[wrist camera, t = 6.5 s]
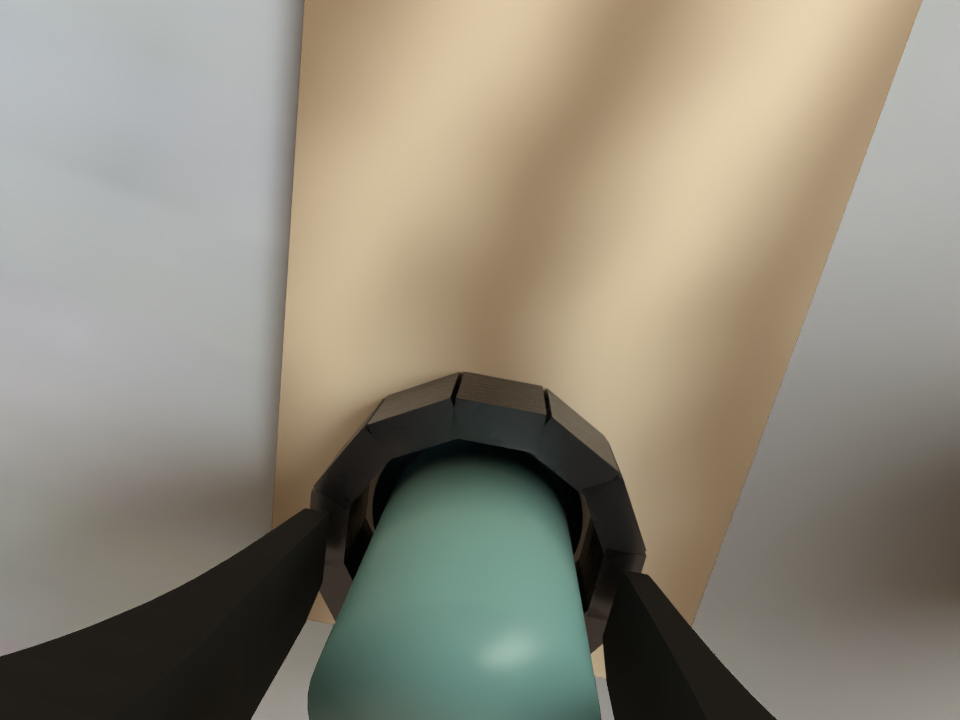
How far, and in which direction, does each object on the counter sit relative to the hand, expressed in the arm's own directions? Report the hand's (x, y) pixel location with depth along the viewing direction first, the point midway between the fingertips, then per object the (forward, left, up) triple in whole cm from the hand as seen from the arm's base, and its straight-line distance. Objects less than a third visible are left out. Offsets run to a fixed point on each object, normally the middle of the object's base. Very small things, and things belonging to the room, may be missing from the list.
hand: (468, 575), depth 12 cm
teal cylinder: (0, 0, -2) cm, 2 cm away
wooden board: (0, -8, -4) cm, 9 cm away
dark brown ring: (0, 0, -3) cm, 3 cm away
